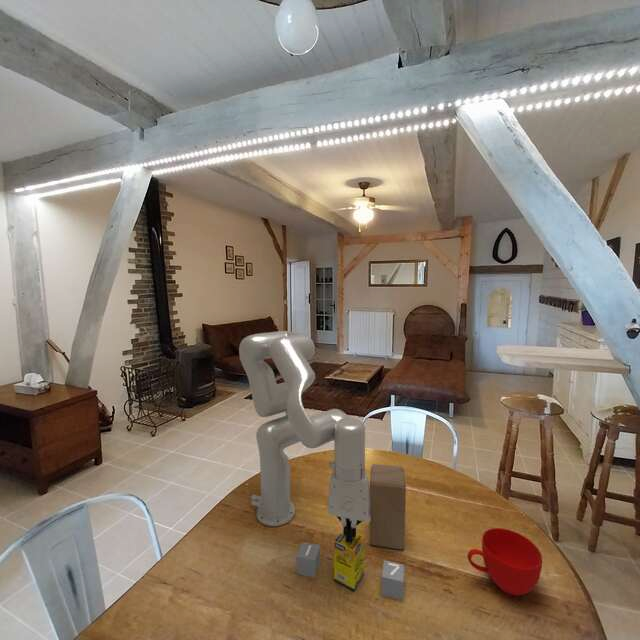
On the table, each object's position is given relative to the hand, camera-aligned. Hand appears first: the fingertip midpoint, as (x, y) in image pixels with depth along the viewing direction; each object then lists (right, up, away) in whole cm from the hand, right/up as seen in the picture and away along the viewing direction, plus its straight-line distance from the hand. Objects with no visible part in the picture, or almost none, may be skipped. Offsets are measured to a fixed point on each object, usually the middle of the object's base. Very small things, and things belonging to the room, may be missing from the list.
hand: (349, 538), depth 83 cm
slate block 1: (-11, -11, +4) cm, 16 cm away
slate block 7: (+10, -11, -2) cm, 16 cm away
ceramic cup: (+38, -11, -1) cm, 40 cm away
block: (+12, -10, +15) cm, 22 cm away
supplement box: (0, -11, +1) cm, 11 cm away
